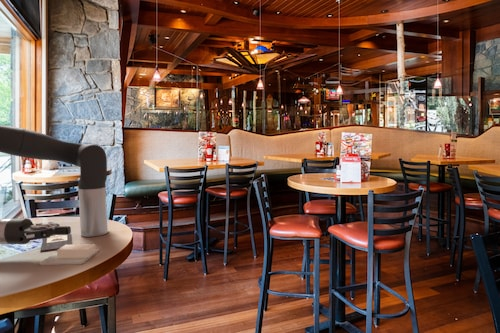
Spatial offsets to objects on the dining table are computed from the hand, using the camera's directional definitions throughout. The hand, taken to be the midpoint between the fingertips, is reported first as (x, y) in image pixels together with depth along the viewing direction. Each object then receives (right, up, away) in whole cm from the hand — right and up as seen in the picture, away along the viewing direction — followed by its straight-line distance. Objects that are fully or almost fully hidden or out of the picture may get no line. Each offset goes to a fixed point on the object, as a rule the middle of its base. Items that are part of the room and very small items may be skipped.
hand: (69, 230), depth 108 cm
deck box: (-3, -6, +1) cm, 7 cm away
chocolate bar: (-12, -8, +16) cm, 22 cm away
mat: (0, -8, +1) cm, 8 cm away
